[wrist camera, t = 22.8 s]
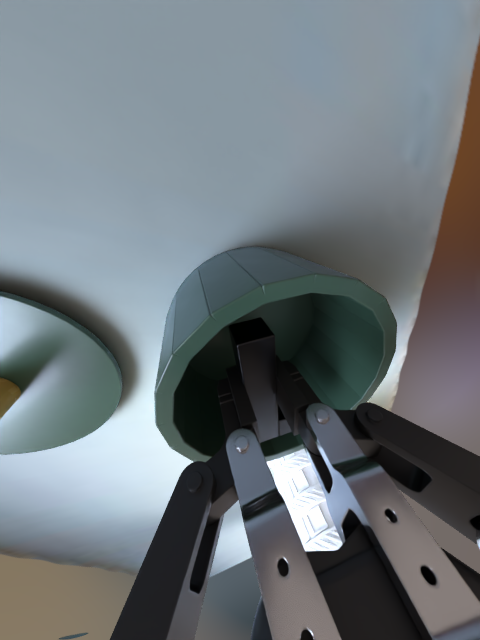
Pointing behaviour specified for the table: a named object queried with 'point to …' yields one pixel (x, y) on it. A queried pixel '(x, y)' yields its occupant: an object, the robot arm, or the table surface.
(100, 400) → the tin lid
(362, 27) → the table surface
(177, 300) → the tin
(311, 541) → the decorative container
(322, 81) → the table surface
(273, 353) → the hex key
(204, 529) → the robot arm
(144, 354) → the table surface
